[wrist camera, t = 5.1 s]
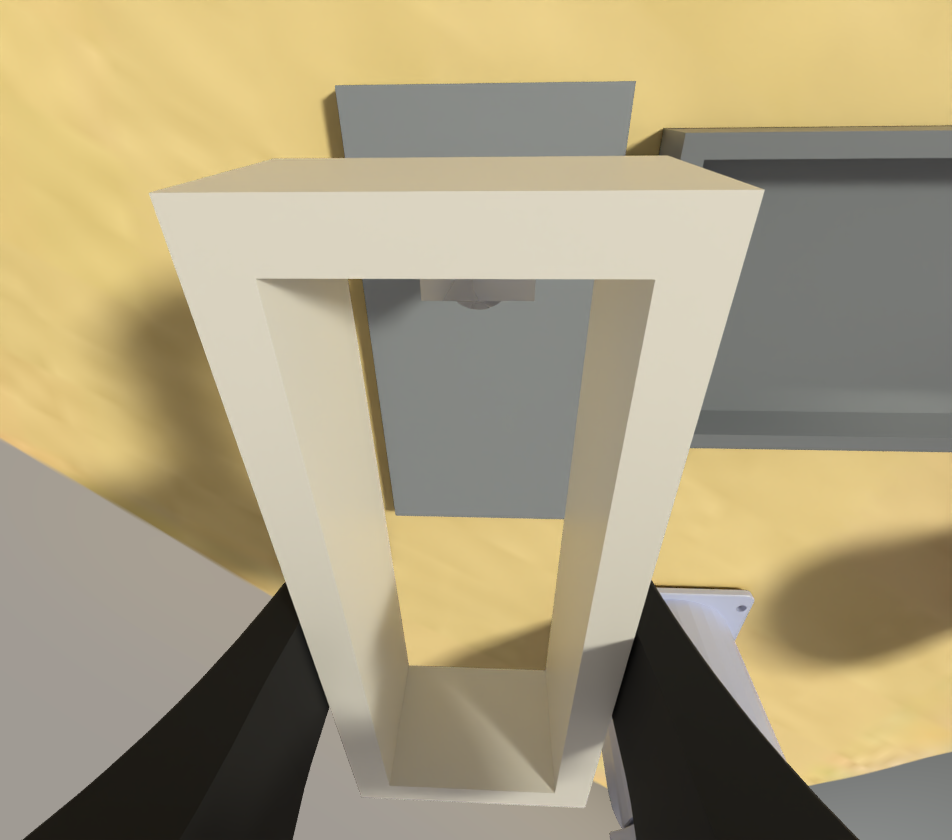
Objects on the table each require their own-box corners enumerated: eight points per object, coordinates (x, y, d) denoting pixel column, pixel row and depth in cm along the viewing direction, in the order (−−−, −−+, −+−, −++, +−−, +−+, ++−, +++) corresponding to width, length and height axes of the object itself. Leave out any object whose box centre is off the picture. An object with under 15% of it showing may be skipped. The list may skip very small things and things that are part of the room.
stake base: (572, 510, 22) (591, 617, 18) (398, 506, 22) (371, 611, 18) (630, 81, 13) (699, 74, 9) (341, 86, 14) (259, 80, 9)
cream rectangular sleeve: (565, 711, 15) (578, 829, 13) (390, 703, 16) (369, 819, 13) (667, 155, 7) (764, 190, 4) (273, 158, 7) (149, 193, 5)
